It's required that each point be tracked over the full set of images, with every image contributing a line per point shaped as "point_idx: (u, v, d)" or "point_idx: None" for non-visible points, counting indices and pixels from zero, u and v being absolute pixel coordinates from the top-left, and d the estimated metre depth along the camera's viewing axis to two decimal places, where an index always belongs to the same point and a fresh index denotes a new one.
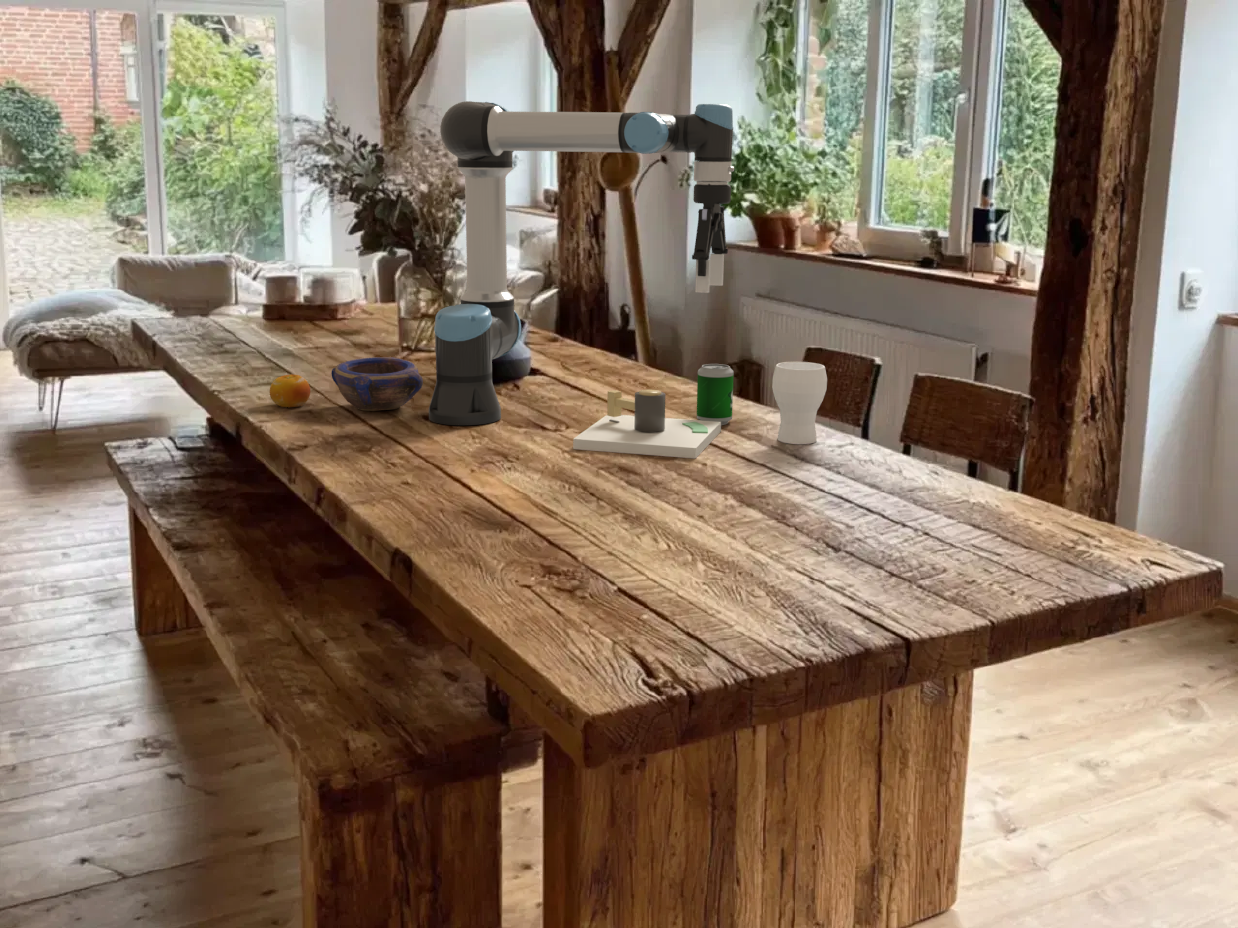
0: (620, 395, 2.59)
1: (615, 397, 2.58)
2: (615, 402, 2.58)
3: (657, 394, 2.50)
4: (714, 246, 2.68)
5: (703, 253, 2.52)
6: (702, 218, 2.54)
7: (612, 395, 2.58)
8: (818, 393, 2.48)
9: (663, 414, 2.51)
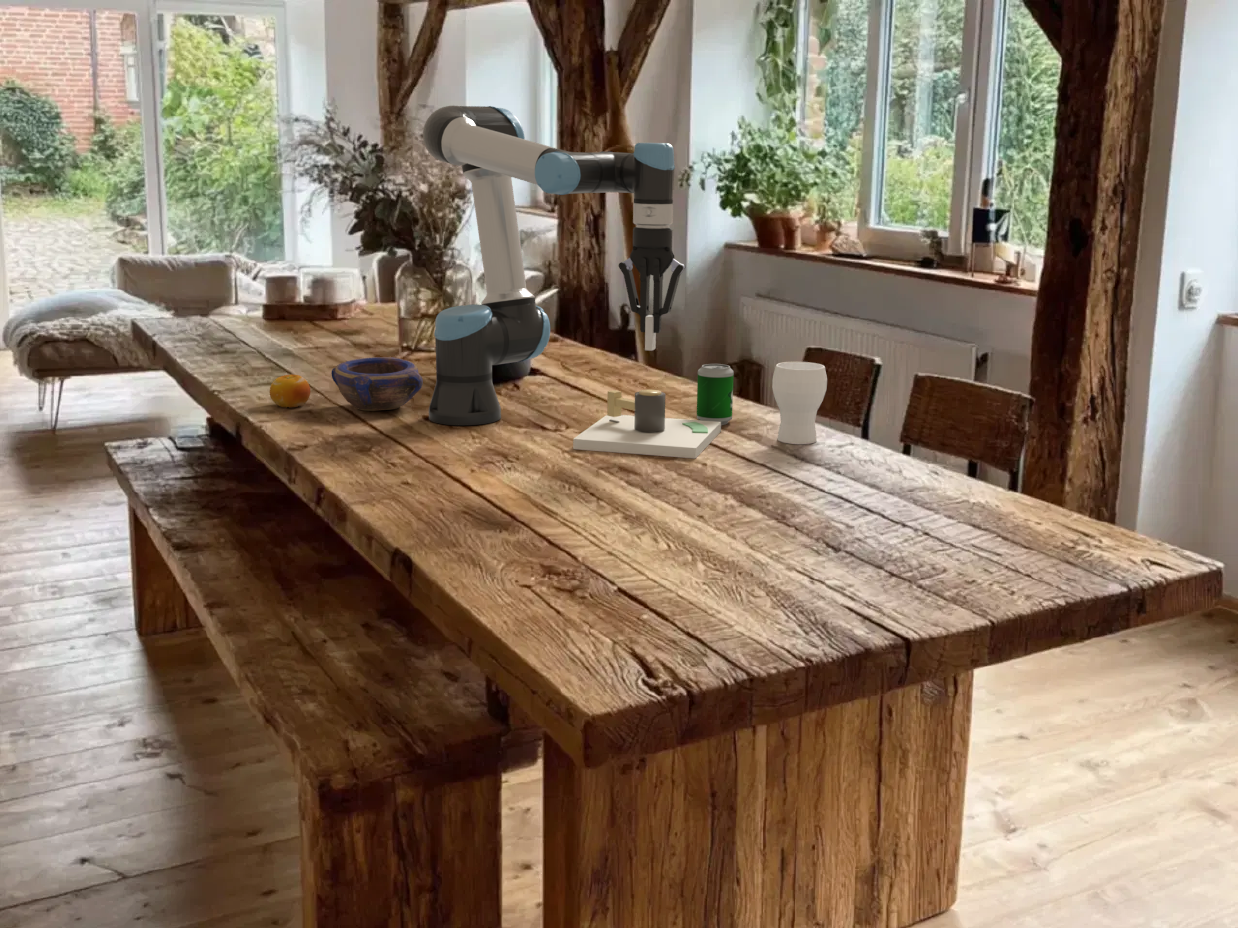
0: (620, 395, 2.59)
1: (615, 397, 2.58)
2: (615, 402, 2.58)
3: (657, 394, 2.50)
4: None
5: None
6: None
7: (612, 395, 2.58)
8: (818, 393, 2.48)
9: (663, 414, 2.51)
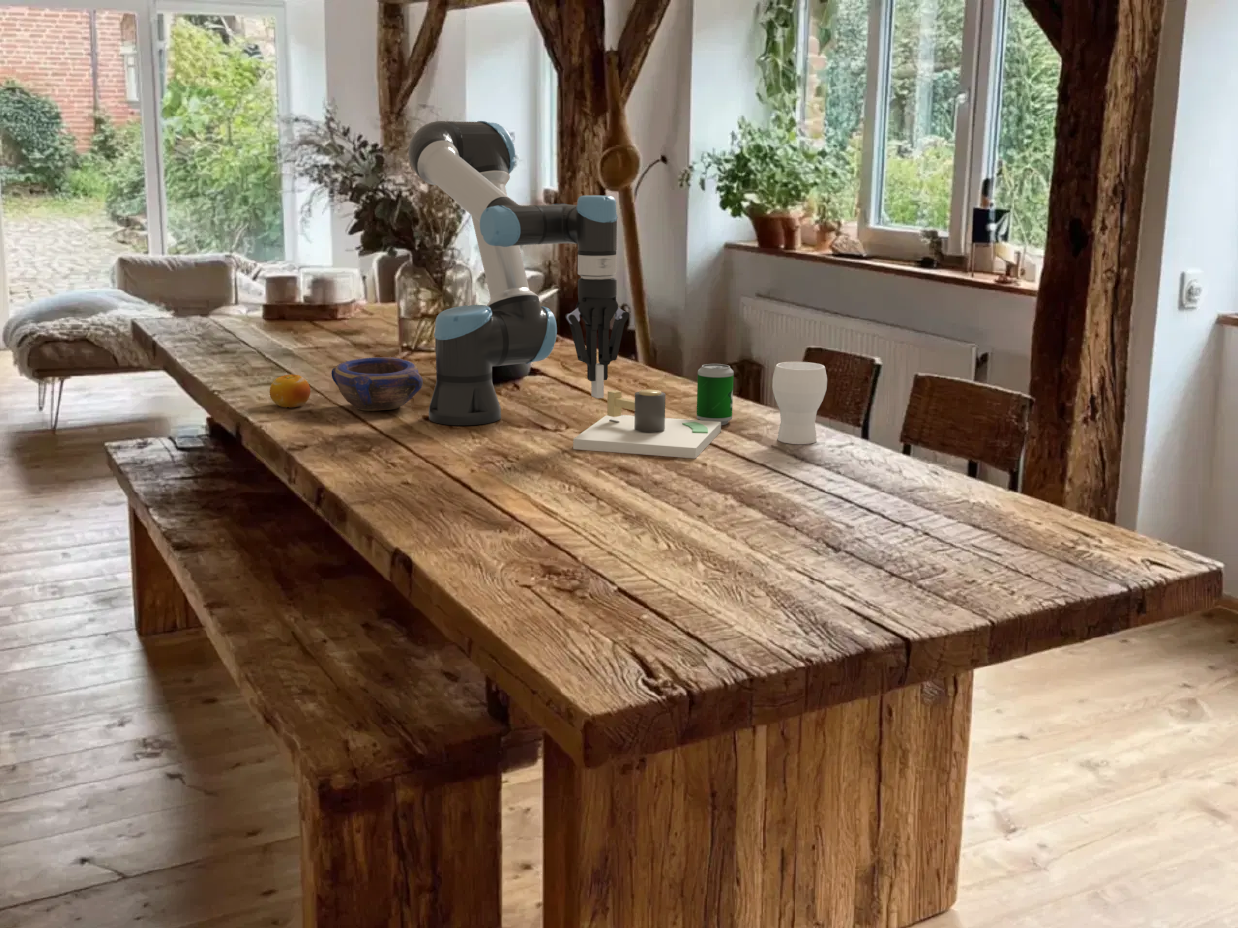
0: (620, 395, 2.59)
1: (615, 397, 2.58)
2: (615, 402, 2.58)
3: (657, 394, 2.50)
4: (599, 351, 2.52)
5: (581, 360, 2.50)
6: (570, 323, 2.48)
7: (612, 395, 2.58)
8: (818, 393, 2.48)
9: (663, 414, 2.51)
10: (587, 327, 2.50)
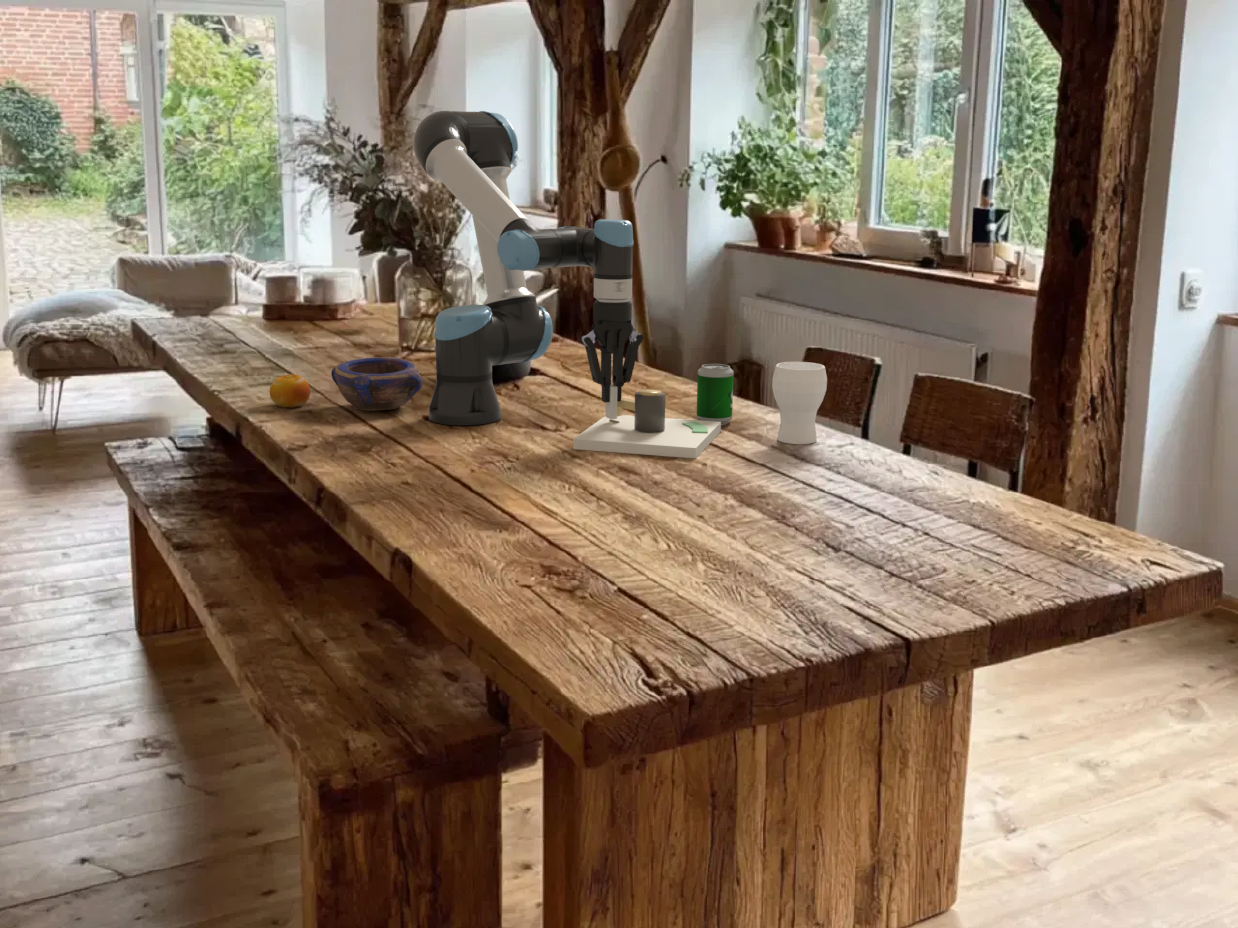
0: None
1: None
2: None
3: (657, 394, 2.50)
4: (613, 373, 2.55)
5: (596, 381, 2.53)
6: (586, 345, 2.51)
7: None
8: (818, 393, 2.48)
9: (663, 414, 2.51)
10: (602, 349, 2.53)
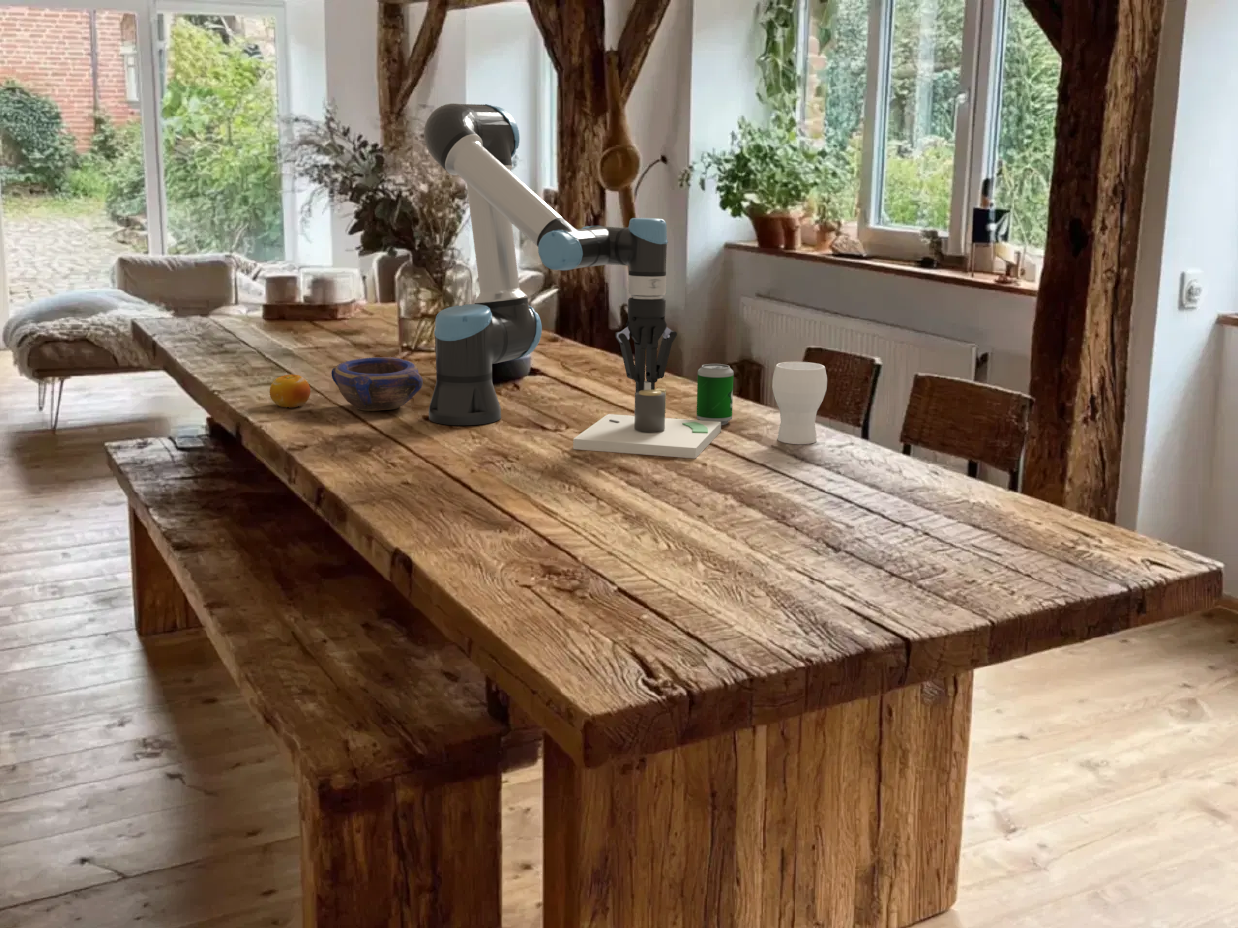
0: None
1: None
2: None
3: (646, 394, 2.49)
4: (647, 369, 2.59)
5: (630, 377, 2.57)
6: (620, 341, 2.55)
7: None
8: (818, 393, 2.48)
9: (650, 416, 2.49)
10: (636, 345, 2.57)
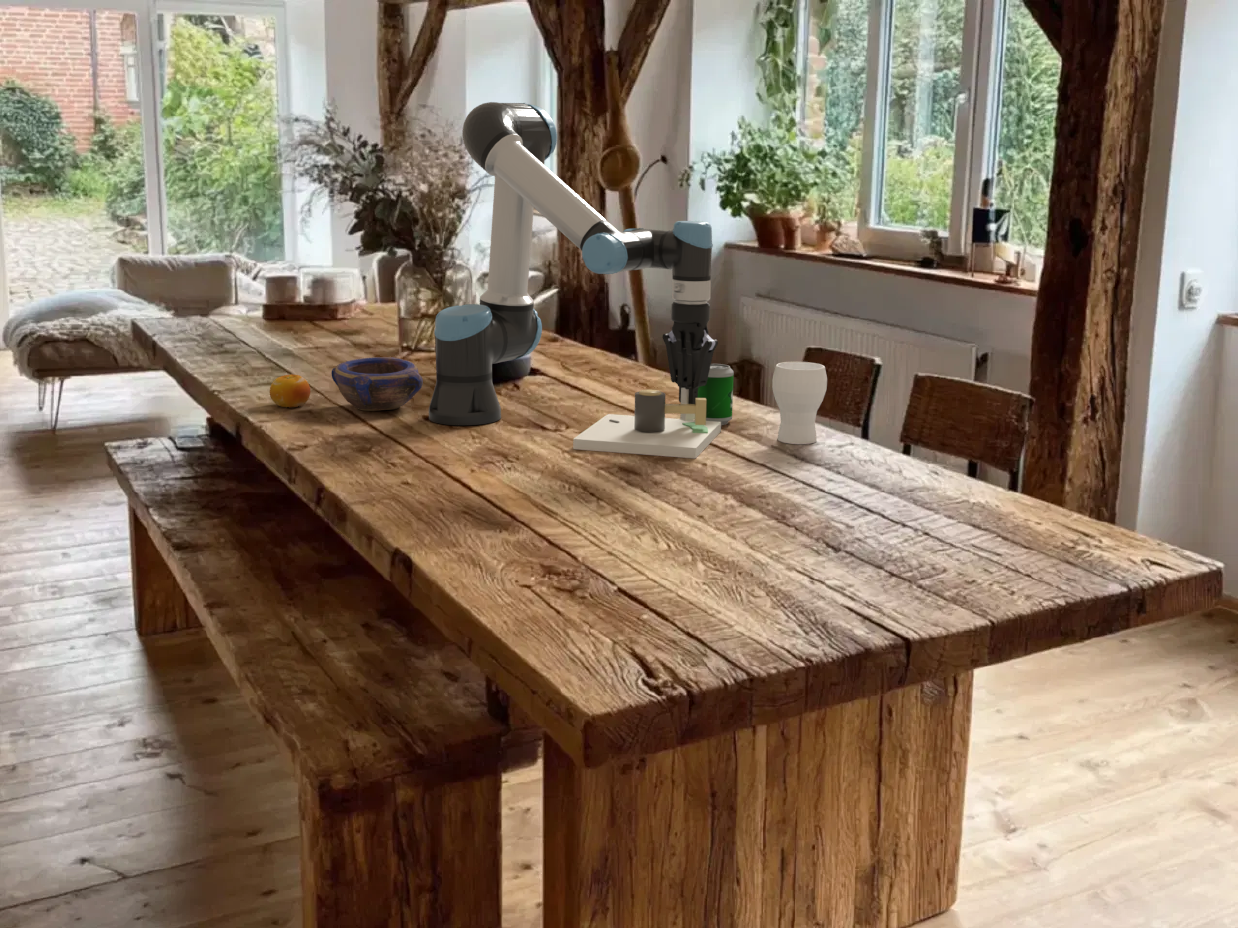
0: (696, 403, 2.51)
1: (695, 403, 2.53)
2: None
3: (639, 392, 2.51)
4: None
5: None
6: None
7: None
8: (818, 393, 2.48)
9: (635, 413, 2.52)
10: None
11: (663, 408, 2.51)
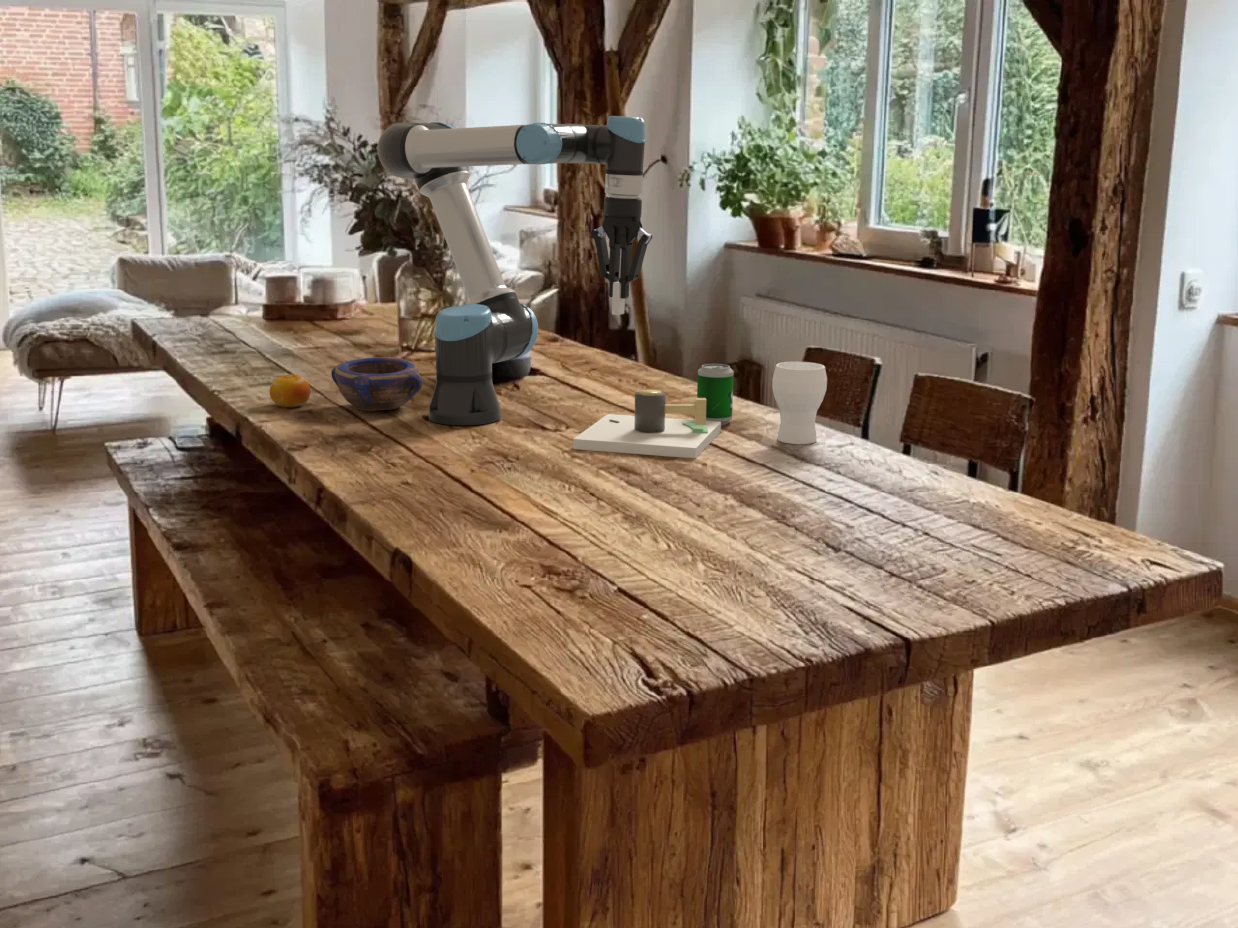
0: (696, 403, 2.51)
1: (695, 403, 2.53)
2: None
3: (639, 392, 2.51)
4: None
5: None
6: None
7: None
8: (818, 393, 2.48)
9: (635, 413, 2.52)
10: None
11: (663, 408, 2.51)
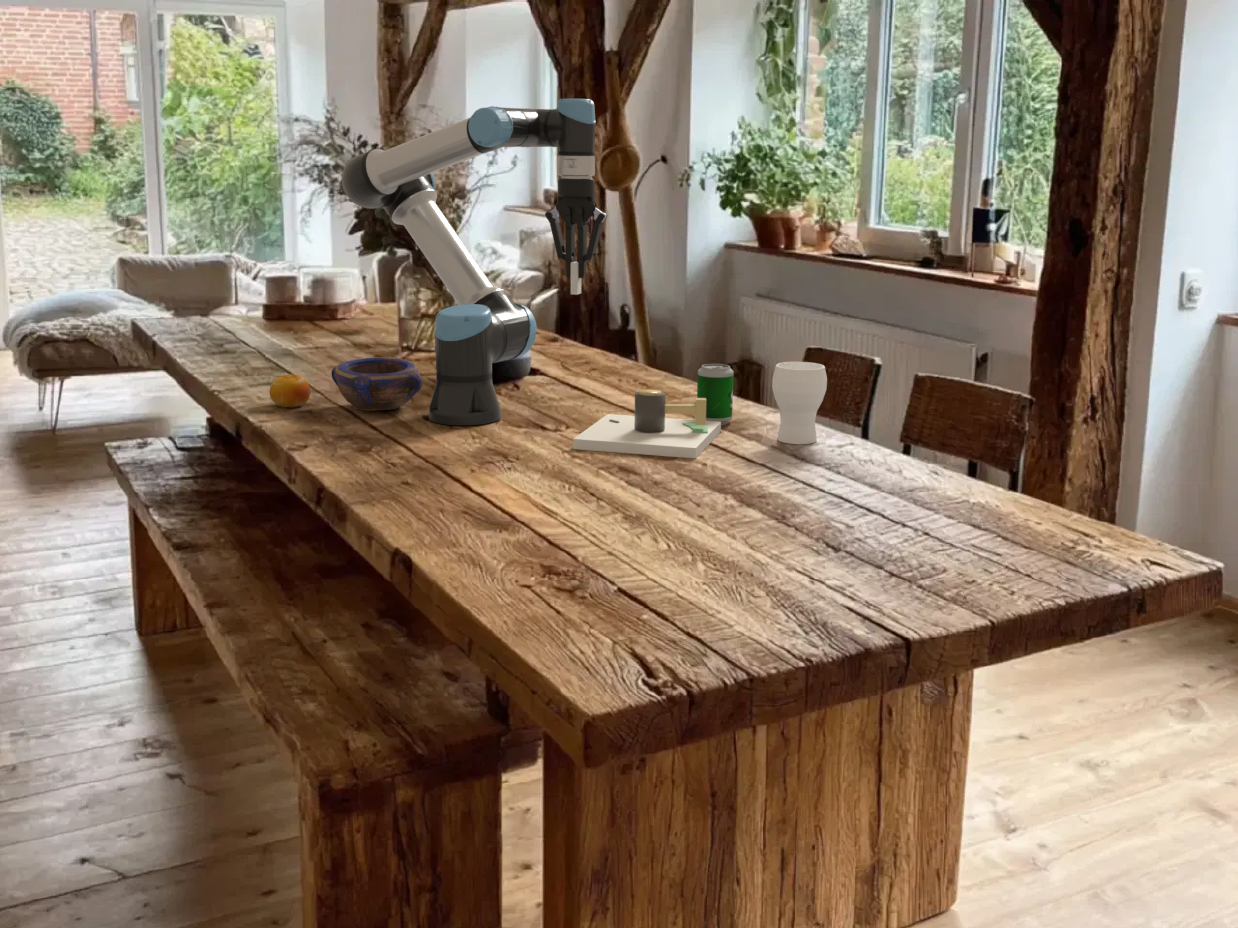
0: (696, 403, 2.51)
1: (695, 403, 2.53)
2: None
3: (639, 392, 2.51)
4: None
5: None
6: None
7: None
8: (818, 393, 2.48)
9: (635, 413, 2.52)
10: None
11: (663, 408, 2.51)
